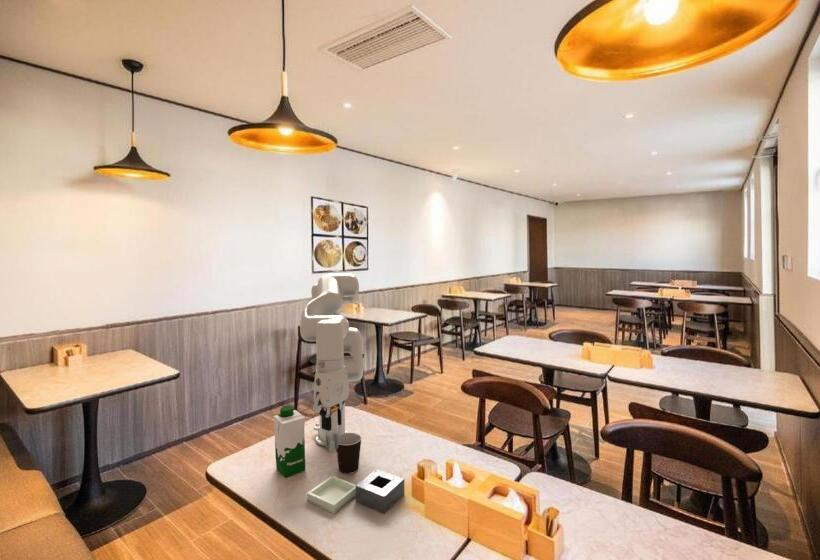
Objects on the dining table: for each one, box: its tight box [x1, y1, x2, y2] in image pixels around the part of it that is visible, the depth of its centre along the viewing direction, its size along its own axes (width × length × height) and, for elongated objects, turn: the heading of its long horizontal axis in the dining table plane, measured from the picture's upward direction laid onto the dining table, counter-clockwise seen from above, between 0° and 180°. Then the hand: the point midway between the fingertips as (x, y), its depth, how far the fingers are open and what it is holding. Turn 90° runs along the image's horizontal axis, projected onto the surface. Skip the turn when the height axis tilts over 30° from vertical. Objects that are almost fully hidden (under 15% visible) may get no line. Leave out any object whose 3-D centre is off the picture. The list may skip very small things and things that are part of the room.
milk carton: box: [273, 405, 306, 479], centre depth 129 cm, size 9×9×20 cm
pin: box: [325, 405, 339, 451], centre depth 113 cm, size 4×4×12 cm
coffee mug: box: [335, 432, 362, 475], centre depth 132 cm, size 12×9×10 cm
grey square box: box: [355, 468, 405, 515], centre depth 114 cm, size 10×10×5 cm
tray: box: [306, 475, 357, 515], centre depth 115 cm, size 10×10×2 cm
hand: (331, 426), depth 113 cm, fingers closed on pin, 3 cm apart
